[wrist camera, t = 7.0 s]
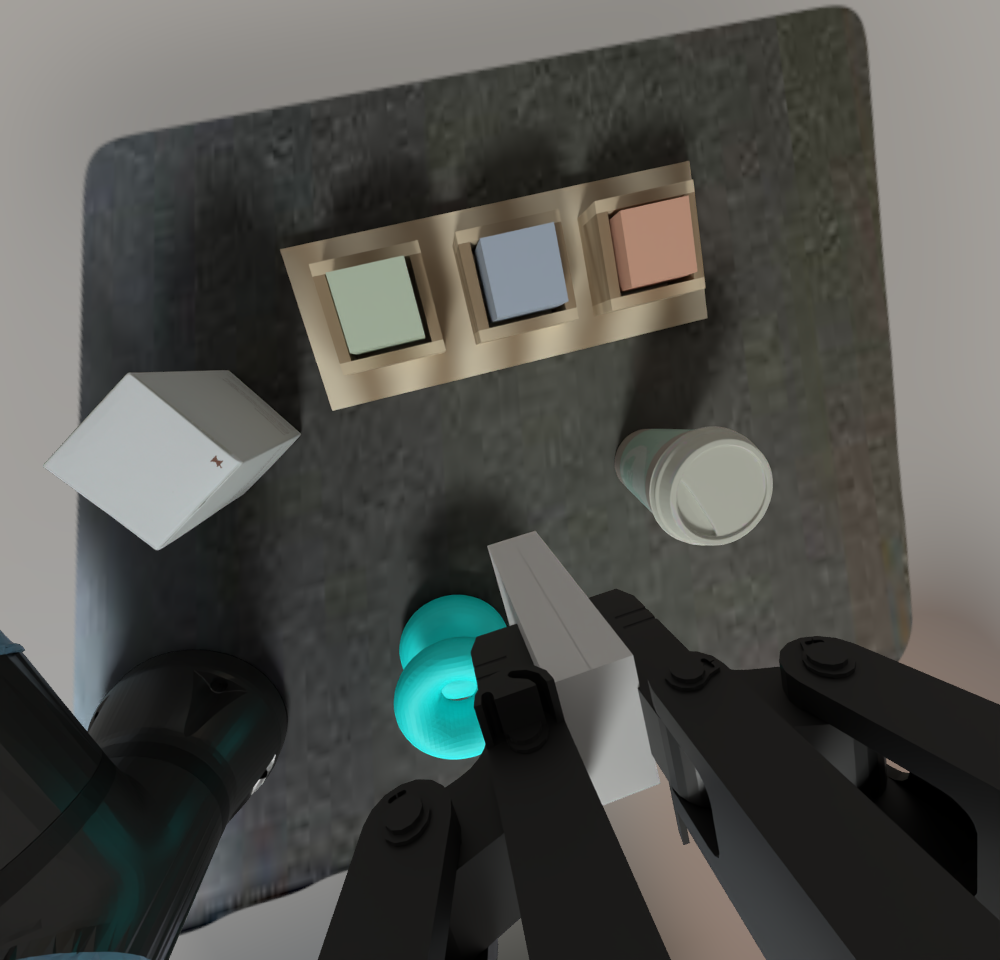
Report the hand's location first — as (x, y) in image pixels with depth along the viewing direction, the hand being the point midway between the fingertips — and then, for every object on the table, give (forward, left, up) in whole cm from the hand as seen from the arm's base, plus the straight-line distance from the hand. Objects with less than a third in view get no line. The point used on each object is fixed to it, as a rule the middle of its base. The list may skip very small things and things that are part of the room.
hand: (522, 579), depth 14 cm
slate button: (+7, +11, -24) cm, 28 cm away
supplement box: (-17, +5, -28) cm, 33 cm away
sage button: (-3, +11, -24) cm, 27 cm away
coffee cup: (+16, -6, -28) cm, 32 cm away
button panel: (+7, +11, -27) cm, 30 cm away
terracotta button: (+17, +11, -25) cm, 32 cm away
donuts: (-5, -18, -28) cm, 33 cm away
